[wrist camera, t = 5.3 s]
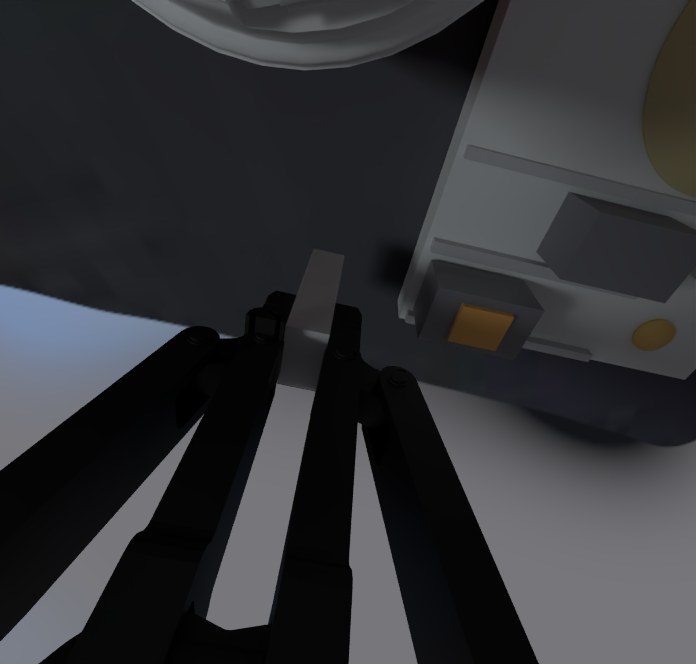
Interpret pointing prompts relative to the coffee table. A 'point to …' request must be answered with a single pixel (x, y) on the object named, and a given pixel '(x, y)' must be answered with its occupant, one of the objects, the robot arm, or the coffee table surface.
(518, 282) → the tagged breaker
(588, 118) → the panel
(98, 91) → the coffee table surface
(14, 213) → the coffee table surface
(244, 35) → the coffee cup
